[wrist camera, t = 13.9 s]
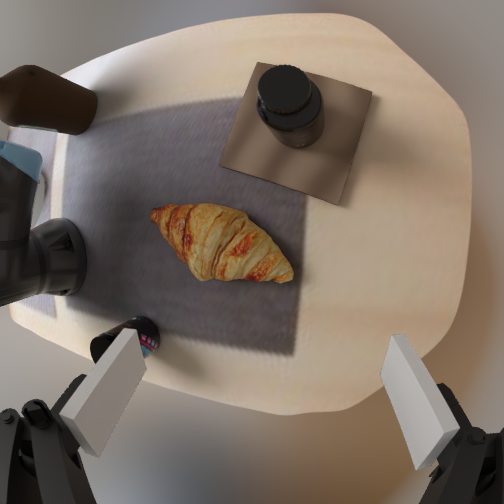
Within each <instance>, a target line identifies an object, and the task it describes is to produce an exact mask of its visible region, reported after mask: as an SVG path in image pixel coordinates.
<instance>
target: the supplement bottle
mask: <svg viewBox="0 0 504 504" xmlns="http://www.w3.org/2000/svg"><path fill="white" fill-rule="evenodd" d="M257 88H258V89H257V92H258V93H257V96H256V109H257V112H258V114H259V116H260V118H261V120H262V121H263V122H264V124H265V125H266V126H267V128H268V129H269V130H270V131H271V133H272V134H273V135H274V137H275V138H276V139H277V140H278V141H279V142H280V143H282V144H283V145H285V146H287V147H291V148H305V147H308V146H310V145H312V144H314V143H315V142H316V141H317V140H318V139H319V138H320V137H321V135H322V133H323V130H324V125H325V117H324V101H323V95H322V92H321V90H320V88H319V87H318V85H317V84H316V83H315V82H314V81H313V80H312V79H310V78H309V77H307V75H306V74H305V73H304V71H301V70H300V69H299V68H296V67H295V66H291V65H279V66H274V67H273V68H270V69H269V70H267V71H266V72H265V73H263V74H262V76H261V77H260V80H259V81H258V85H257Z"/></svg>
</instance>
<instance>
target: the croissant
mask: <svg viewBox="0 0 504 504" xmlns="http://www.w3.org/2000/svg"><path fill="white" fill-rule="evenodd" d="M150 219H151V222H152V223H154V224H156V225H158V226H159V228H160V232H161V234H162V235H163V236H164V237H165V240H167V242H168V243H169V244H170V245H171V246H172V247H173V248H174V249H175V250H176V253H175V254H176V255H177V256H178V257H179V259H180V260H181V261H183V262H184V263H186V264H187V265H188V266H189V268H190V270H191V272H192V273H193V275H194V276H195V277H196V278H197V279H198V280H200V281H206V280H210V279H213V278H216V279H218V280H223V281H231V280H233V279H246V280H250V281H254V282H262V281H269V280H271V279H272V281H275V282H279V283H283V282H286V281H290V280H293V275H294V272H293V269H292V267H291V266H290V263H289V262H288V261H287V259H286V258H285V257H284V255H283V254H282V253H281V250H280V249H279V247H278V246H277V245H276V244H275V243H274V242H273V241H272V238H271V237H270V236H269V235H268V234H266V232H265V231H264V230H263V229H261V228H259V227H258V226H257V225H255V224H254V223H253V222H252V221H250V220H249V219H248V215H247V214H246V213H245V212H243V211H240V210H236V209H233V208H230V207H226V206H221V205H217V204H212V203H200V204H187V205H182V206H177V205H175V204H168V205H166V206H163V207H159V208H154V209H152V210H151V214H150Z"/></svg>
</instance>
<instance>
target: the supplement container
mask: <svg viewBox="0 0 504 504" xmlns="http://www.w3.org/2000/svg"><path fill="white" fill-rule="evenodd" d="M124 328H127V329H135V330H137V334H138V338H139V342H140V346H141V350H142V354H143V358H144V359H146V358H147V357H148V356H150V355H151V354H152V353H153V352H155V351H156V350H157V349H158V347H159V344H160V335H159V332H158V329H157V328H156V326H155V325H154V324H153V322H151V321H150V320H149V319H147V318H145V317H141V316H136V317H134V318H132V319H130V320H128V321H126V322H124V323H122V324H120V325H118V326H117V327H115V328H113V329H111V330H109V331H107V332H105V333H102V334H100V335H99V336H97V337H95V338H94V339H93V340H92V341H91V344H90V352H91V356H92V359H93V361H94V363H95V364H96V363H97V362H98V361H99V359H100V358H101V357H102V355H103V354H104V353H105V351H106V350H107V349H108V348H109V346H110V345H111V344H112V343H113V341H114V340H115V339H116V338H117V336H118V335H119V334H120V333H121V331H122V330H123V329H124Z"/></svg>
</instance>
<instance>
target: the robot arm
mask: <svg viewBox="0 0 504 504" xmlns="http://www.w3.org/2000/svg"><path fill="white" fill-rule="evenodd" d="M42 163H43V160H42V156H41V154H40V153H39V152H38V151H35V150H33V149H30V148H28V147H25V146H22V145H19V144H16V143H13V142H10V141H7V140H4V139H1V138H0V307H1V306H4V305H7V304H10V303H13V302H16V301H19V300H22V299H25V298H28V297H31V296H34V295H38V294H48V295H57V296H66V295H69V294H72V293H75V292H76V291H78V290H79V288H80V287H81V286H82V284H83V281H84V278H85V273H86V253H85V248H84V244H83V240H82V238H81V235H80V233H79V231H78V229H77V228H76V227H75V225H74V224H73V223H72V222H71V221H69V220H68V219H65V218H55V219H50V220H48V221H46V222H44V223H42V224H41V225H39V226H37V227H35V228H33V229H31V230H30V228H31V221H32V214H33V208H34V202H35V197H36V192H37V187H38V184H39V183H40V179H39V178H40V173H41V168H42ZM145 371H146V365H145V361H144V358H143V354H142V350H141V346H140V342H139V338H138V334H137V330H135V329H127V328H124V329H123V330H122V331H121V333H120V334H119V335H118V336H117V338H116V339H115V340H114V341H113V343H112V344H111V345H110V346H109V348H108V349H107V350H106V351H105V353H104V354H103V355H102V357H101V358H100V359H99V361H98V362H97V363H96V364H95V366H94V367H93V368H92V370H91V371H90V372H89V374H88V375H85V374H81V375H80V376H78V377H77V378H75V379H74V380H73V381H72V383H71V384H70V385H69V388H67V389H66V390H65V392H64V393H63V394H62V395H61V397H60V398H59V399H58V401H57V402H56V403H55V405H54V406H53V407H52V409H51V410H49V408H48V407H47V405H46V403H45V402H44V401H42V400H39V399H34V400H31V401H28V402H27V403H26V404H25V405H24V406H23V408H22V412H21V413H22V414H23V416H24V417H25V418H23V417H20V415H19V414H18V412H17V411H16V410H15V409H11V408H9V409H5V410H3V411H2V412H1V413H0V504H97V503H96V501H95V498H94V496H93V493H92V490H91V488H90V485H89V482H88V479H87V476H86V473H85V470H84V467H83V464H82V461H81V457H80V454H79V452H78V451H77V450H78V448H79V447H80V446H81V447H82V448H83V450H84V452H85V453H87V454H90V455H92V456H95V457H98V458H99V457H100V456H101V454H102V451H103V450H104V448H105V446H106V444H107V442H108V440H109V438H110V436H111V434H112V432H113V430H114V428H115V427H116V425H117V423H118V421H119V419H120V417H121V415H122V413H123V412H124V410H125V408H126V406H127V404H128V402H129V400H130V398H131V397H132V395H133V393H134V391H135V389H136V387H137V385H138V384H139V382H140V380H141V379H142V377H143V375H144V373H145ZM380 376H381V379H382V381H383V384H384V386H385V389H386V391H387V393H388V396H389V398H390V401H391V403H392V406H393V408H394V411H395V413H396V416H397V419H398V421H399V424H400V427H401V429H402V432H403V435H404V438H405V440H406V443H407V446H408V449H409V452H410V454H411V457H412V460H413V463H414V466H415V469H416V470H419V469H422V468H426V467H429V466H431V465H432V464H433V462H434V461H435V460H436V459H437V460H438V463H439V465H438V466H437V467H436V468H435V470H434V471H433V472H432V473H431V474H430V475H429V477H431V476H432V475H433V476H432V478H431V481H430V483H429V485H428V487H427V489H426V491H425V493H424V495H423V497H422V499H421V501H420V503H419V504H504V428H503V429H502V430H501V432H500V433H492V434H486V433H485V432H484V431H483V430H482V429H480V428H478V427H472V425H471V423H470V422H469V420H468V418H467V416H466V415H465V413H464V411H463V409H462V408H461V406H460V405H459V402H458V401H457V399H455V396H454V394H453V393H452V391H451V389H450V388H448V387H447V386H446V385H445V384H443V383H441V384H435V382H434V380H433V379H432V377H431V375H430V374H429V372H428V370H427V369H426V367H425V366H424V364H423V362H422V361H421V359H420V357H419V356H418V354H417V353H416V351H415V349H414V348H413V346H412V345H411V343H410V342H409V340H408V339H407V337H406V336H405V334H399V335H392V336H391V340H390V343H389V347H388V351H387V354H386V357H385V361H384V364H383V367H382V370H381V373H380Z"/></svg>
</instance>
